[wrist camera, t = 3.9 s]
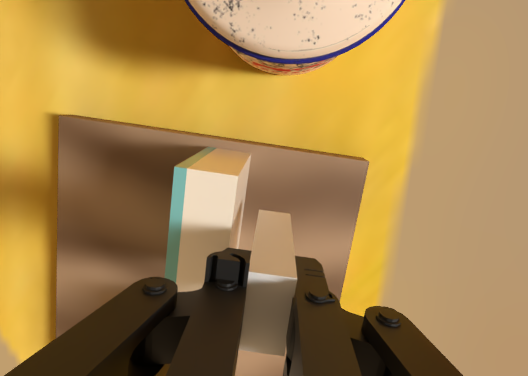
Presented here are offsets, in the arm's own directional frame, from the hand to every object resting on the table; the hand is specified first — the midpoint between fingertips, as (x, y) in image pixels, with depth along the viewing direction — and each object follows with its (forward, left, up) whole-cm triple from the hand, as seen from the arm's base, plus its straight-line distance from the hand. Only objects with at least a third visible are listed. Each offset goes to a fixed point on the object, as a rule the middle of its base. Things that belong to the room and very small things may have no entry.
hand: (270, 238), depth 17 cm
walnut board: (+5, -4, -6) cm, 8 cm away
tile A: (0, -3, -4) cm, 5 cm away
